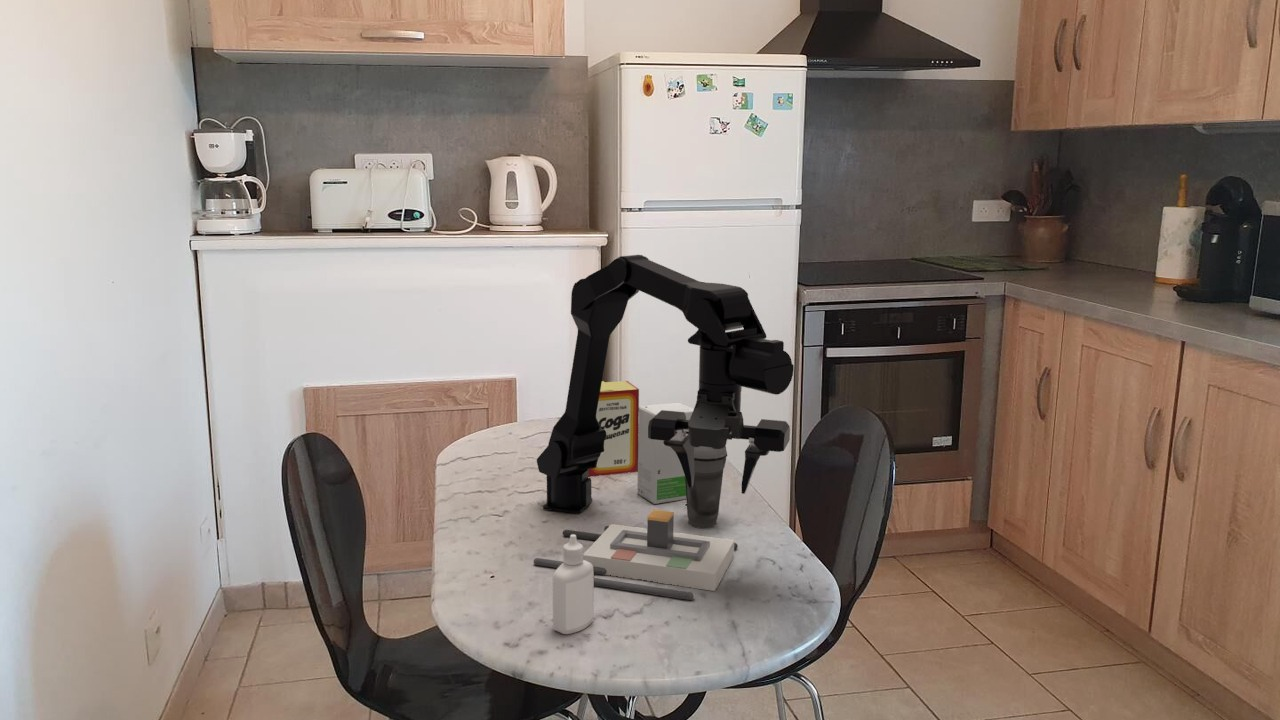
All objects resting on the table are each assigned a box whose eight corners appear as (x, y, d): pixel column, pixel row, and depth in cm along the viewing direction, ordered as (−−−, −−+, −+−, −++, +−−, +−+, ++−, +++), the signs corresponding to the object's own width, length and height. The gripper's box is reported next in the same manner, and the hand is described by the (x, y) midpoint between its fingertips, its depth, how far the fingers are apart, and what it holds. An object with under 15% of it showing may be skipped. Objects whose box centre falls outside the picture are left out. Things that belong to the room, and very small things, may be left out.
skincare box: (653, 505, 162) (654, 415, 159) (635, 493, 168) (635, 405, 165) (696, 497, 166) (698, 409, 163) (677, 485, 172) (679, 400, 169)
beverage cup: (722, 533, 151) (726, 408, 147) (676, 529, 152) (678, 405, 148) (727, 516, 158) (731, 396, 154) (683, 512, 159) (685, 394, 155)
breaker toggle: (647, 549, 138) (647, 516, 137) (653, 541, 141) (653, 509, 140) (667, 552, 138) (667, 519, 137) (673, 544, 140) (673, 512, 139)
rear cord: (561, 536, 149) (561, 530, 149) (572, 526, 153) (572, 520, 153) (731, 560, 141) (731, 553, 141) (738, 548, 146) (738, 542, 145)
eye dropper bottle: (600, 629, 121) (600, 539, 118) (556, 637, 119) (556, 545, 116) (589, 614, 125) (589, 526, 122) (547, 621, 123) (546, 531, 120)
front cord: (522, 575, 136) (522, 569, 135) (535, 562, 140) (535, 556, 140) (692, 601, 128) (693, 594, 128) (701, 587, 133) (701, 580, 132)
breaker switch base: (583, 571, 137) (582, 550, 137) (611, 539, 148) (611, 519, 148) (714, 591, 132) (715, 569, 131) (733, 556, 143) (734, 535, 142)
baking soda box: (626, 460, 185) (627, 378, 182) (638, 471, 179) (638, 387, 176) (578, 465, 182) (578, 382, 179) (588, 476, 176) (588, 390, 173)
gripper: (636, 388, 127) (635, 502, 130) (779, 400, 122) (774, 518, 125) (660, 370, 137) (658, 475, 141) (792, 380, 132) (788, 490, 135)
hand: (717, 489), depth 135 cm, fingers open, 7 cm apart
